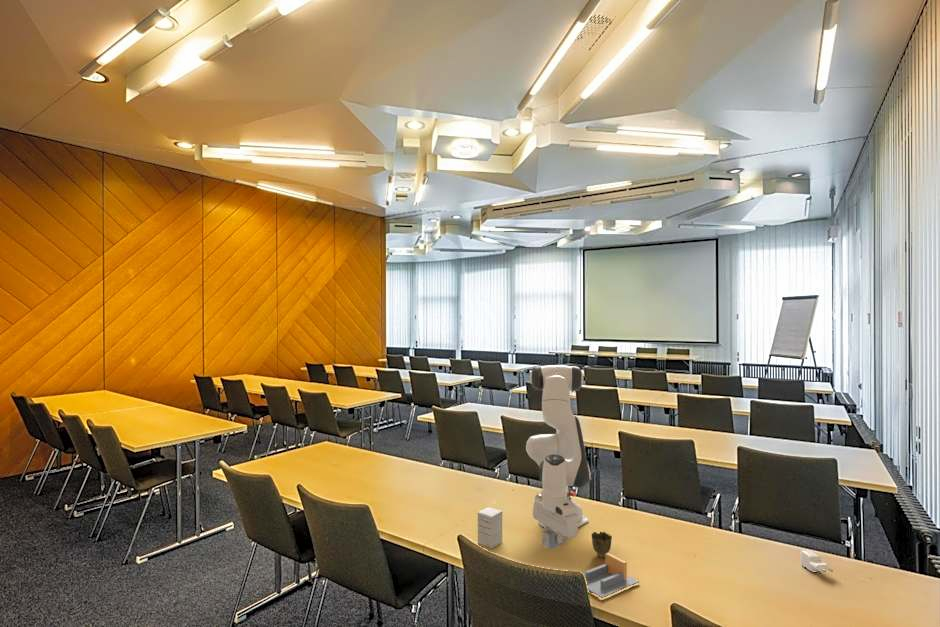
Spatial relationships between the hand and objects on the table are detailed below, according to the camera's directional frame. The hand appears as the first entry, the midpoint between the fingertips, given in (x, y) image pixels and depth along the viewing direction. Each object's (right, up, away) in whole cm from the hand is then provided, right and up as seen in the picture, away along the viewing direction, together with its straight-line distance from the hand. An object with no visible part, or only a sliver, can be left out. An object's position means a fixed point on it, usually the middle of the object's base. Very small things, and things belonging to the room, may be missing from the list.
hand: (553, 539), depth 181 cm
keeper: (+16, -10, -10) cm, 21 cm away
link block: (0, -2, 0) cm, 2 cm away
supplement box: (-22, -11, +20) cm, 32 cm away
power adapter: (+93, -11, -2) cm, 93 cm away
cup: (+20, -11, +9) cm, 24 cm away
